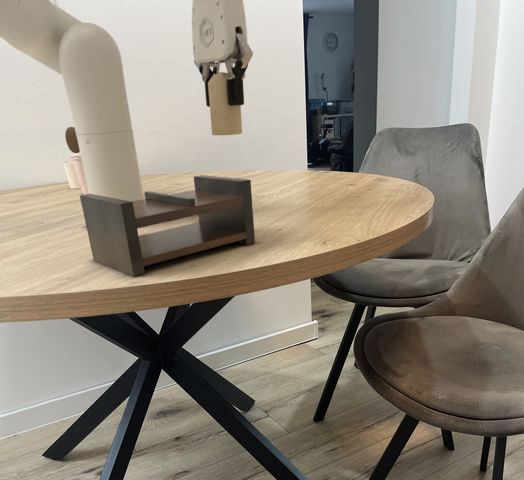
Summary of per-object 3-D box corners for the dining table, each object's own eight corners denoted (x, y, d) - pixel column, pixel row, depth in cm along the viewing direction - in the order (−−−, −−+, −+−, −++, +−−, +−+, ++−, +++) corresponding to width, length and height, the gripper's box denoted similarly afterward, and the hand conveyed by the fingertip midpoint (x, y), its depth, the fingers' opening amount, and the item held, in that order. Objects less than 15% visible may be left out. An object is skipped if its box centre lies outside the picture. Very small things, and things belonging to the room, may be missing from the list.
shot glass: (63, 189, 144) (57, 163, 141) (75, 185, 150) (69, 160, 147) (86, 188, 143) (80, 161, 140) (97, 184, 149) (92, 159, 146)
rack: (93, 260, 72) (79, 195, 69) (208, 232, 84) (201, 174, 80) (134, 277, 64) (120, 203, 60) (255, 243, 75) (250, 179, 71)
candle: (238, 134, 90) (234, 70, 86) (208, 136, 91) (203, 72, 87) (245, 133, 95) (241, 72, 91) (216, 134, 96) (212, 74, 92)
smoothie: (84, 191, 136) (72, 135, 130) (107, 190, 135) (96, 133, 129) (73, 196, 131) (60, 137, 124) (97, 195, 130) (85, 135, 124)
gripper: (168, -10, 87) (181, 108, 95) (231, -31, 75) (239, 105, 83) (204, -6, 92) (213, 106, 99) (268, -25, 80) (273, 103, 88)
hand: (225, 104), depth 91 cm, fingers closed on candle, 5 cm apart
